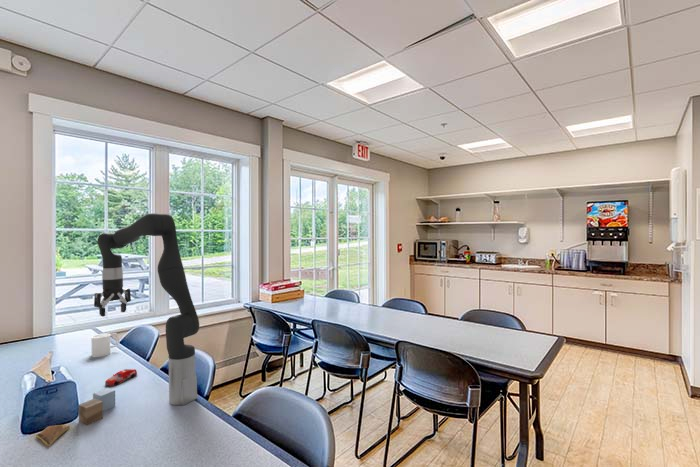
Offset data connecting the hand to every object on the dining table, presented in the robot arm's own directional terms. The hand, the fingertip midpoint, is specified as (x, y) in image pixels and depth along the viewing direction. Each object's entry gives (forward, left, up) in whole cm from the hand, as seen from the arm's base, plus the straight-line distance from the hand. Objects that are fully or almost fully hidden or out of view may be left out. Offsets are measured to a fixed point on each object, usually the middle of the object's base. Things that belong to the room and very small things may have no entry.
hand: (113, 314), depth 155 cm
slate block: (-23, +17, -29) cm, 41 cm away
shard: (-28, +34, -30) cm, 53 cm away
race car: (-4, 0, -29) cm, 30 cm away
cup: (+38, -17, -29) cm, 51 cm away
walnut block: (-28, +24, -29) cm, 47 cm away
